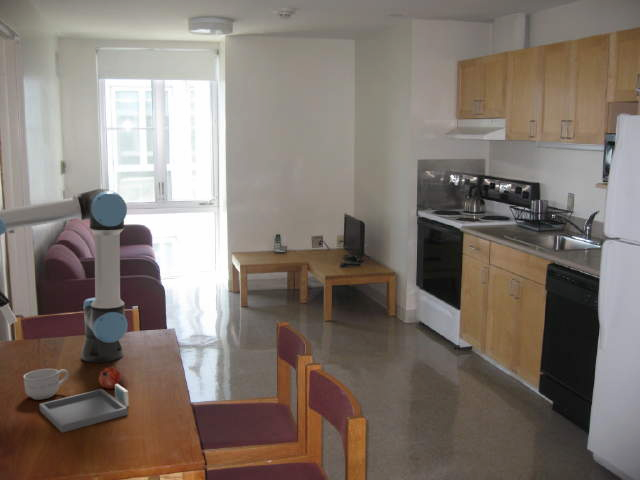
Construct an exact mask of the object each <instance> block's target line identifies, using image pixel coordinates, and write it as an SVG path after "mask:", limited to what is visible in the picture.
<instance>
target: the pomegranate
mask: <svg viewBox="0 0 640 480" xmlns="http://www.w3.org/2000/svg"><path fill="white" fill-rule="evenodd" d="M121 379H122V375H121V373H120V371H119V370H118V369H117V368H116V367H115V366H108V367H105V368H104V369H103V370H100V373H99V376H98V382H99V384H100V386H101V387H103V388H105V389H110V390H111V389H115V384H119V383H120V381H121Z"/></svg>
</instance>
